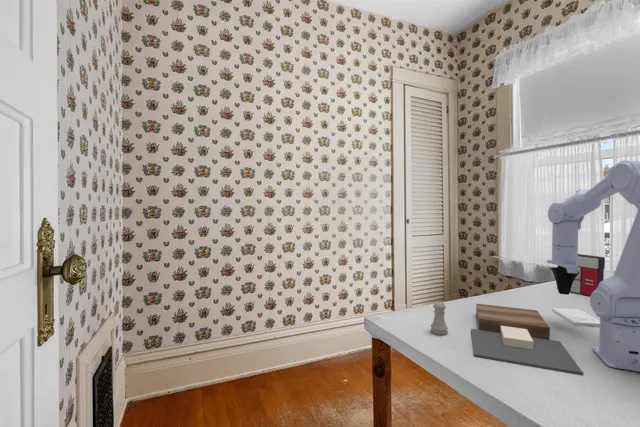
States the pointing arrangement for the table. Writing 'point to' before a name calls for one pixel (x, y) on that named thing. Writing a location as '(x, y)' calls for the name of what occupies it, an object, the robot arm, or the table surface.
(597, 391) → the table surface
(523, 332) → the ivory tile
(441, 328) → the rook chess piece
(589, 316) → the external hard drive
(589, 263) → the red and grey box
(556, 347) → the rubber mat
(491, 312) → the walnut deck
